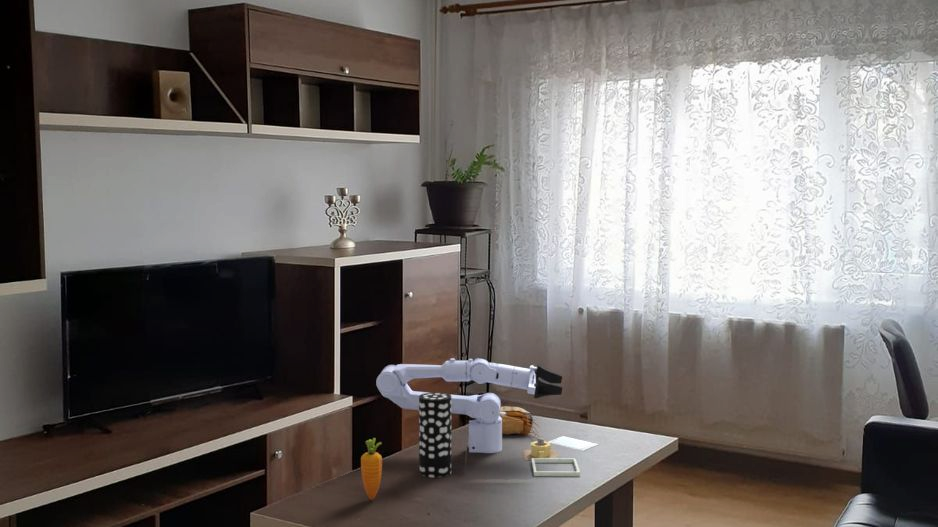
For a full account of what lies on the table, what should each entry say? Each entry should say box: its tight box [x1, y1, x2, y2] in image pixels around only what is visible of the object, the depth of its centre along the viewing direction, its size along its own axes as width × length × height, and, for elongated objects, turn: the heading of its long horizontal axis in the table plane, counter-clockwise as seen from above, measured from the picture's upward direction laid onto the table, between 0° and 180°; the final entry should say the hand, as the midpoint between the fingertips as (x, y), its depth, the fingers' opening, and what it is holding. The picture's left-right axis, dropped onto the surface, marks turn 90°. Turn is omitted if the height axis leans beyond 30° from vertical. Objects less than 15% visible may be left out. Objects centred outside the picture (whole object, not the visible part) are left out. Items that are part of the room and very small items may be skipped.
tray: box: [531, 457, 581, 477], centre depth 241 cm, size 12×12×2 cm
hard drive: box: [547, 435, 600, 452], centre depth 263 cm, size 2×8×12 cm
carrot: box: [360, 437, 383, 501], centre depth 219 cm, size 5×5×15 cm
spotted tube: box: [418, 392, 452, 478], centre depth 239 cm, size 8×8×20 cm
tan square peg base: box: [522, 437, 559, 461], centre depth 252 cm, size 9×9×5 cm
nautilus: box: [499, 405, 541, 439], centre depth 274 cm, size 8×22×15 cm
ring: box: [530, 440, 552, 458], centre depth 252 cm, size 5×7×3 cm
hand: (561, 385), depth 255 cm, fingers open, 7 cm apart
